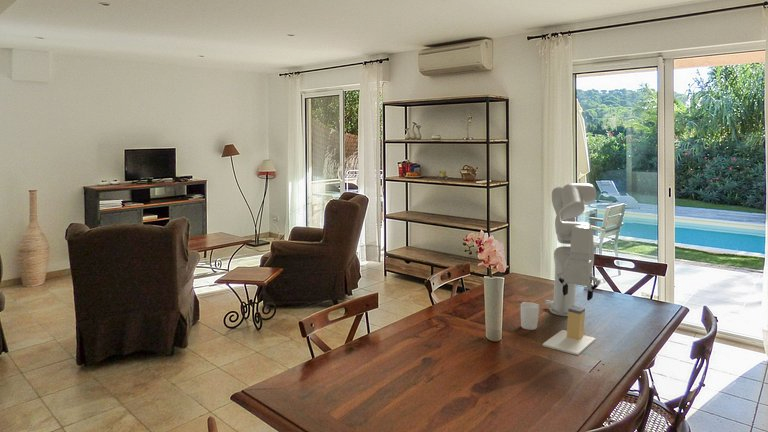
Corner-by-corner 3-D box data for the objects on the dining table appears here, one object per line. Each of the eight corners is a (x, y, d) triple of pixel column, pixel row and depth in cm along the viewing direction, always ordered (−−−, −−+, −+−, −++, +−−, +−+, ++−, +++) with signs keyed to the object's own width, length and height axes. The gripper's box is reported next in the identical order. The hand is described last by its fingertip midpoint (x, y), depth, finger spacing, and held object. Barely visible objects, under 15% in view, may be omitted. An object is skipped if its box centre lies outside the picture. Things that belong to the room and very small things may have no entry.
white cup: (536, 324, 227) (537, 302, 225) (540, 330, 219) (541, 308, 217) (518, 323, 227) (519, 301, 226) (521, 330, 220) (522, 307, 218)
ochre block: (566, 336, 210) (568, 308, 208) (571, 333, 214) (572, 305, 212) (578, 339, 207) (580, 311, 205) (583, 336, 210) (585, 308, 209)
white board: (542, 345, 203) (542, 343, 203) (561, 331, 218) (562, 329, 218) (577, 355, 194) (578, 353, 194) (595, 339, 209) (595, 338, 209)
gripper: (555, 254, 208) (552, 295, 211) (598, 261, 197) (595, 304, 200) (562, 251, 214) (559, 290, 217) (605, 257, 203) (602, 299, 205)
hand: (577, 297), depth 208 cm, fingers open, 9 cm apart
